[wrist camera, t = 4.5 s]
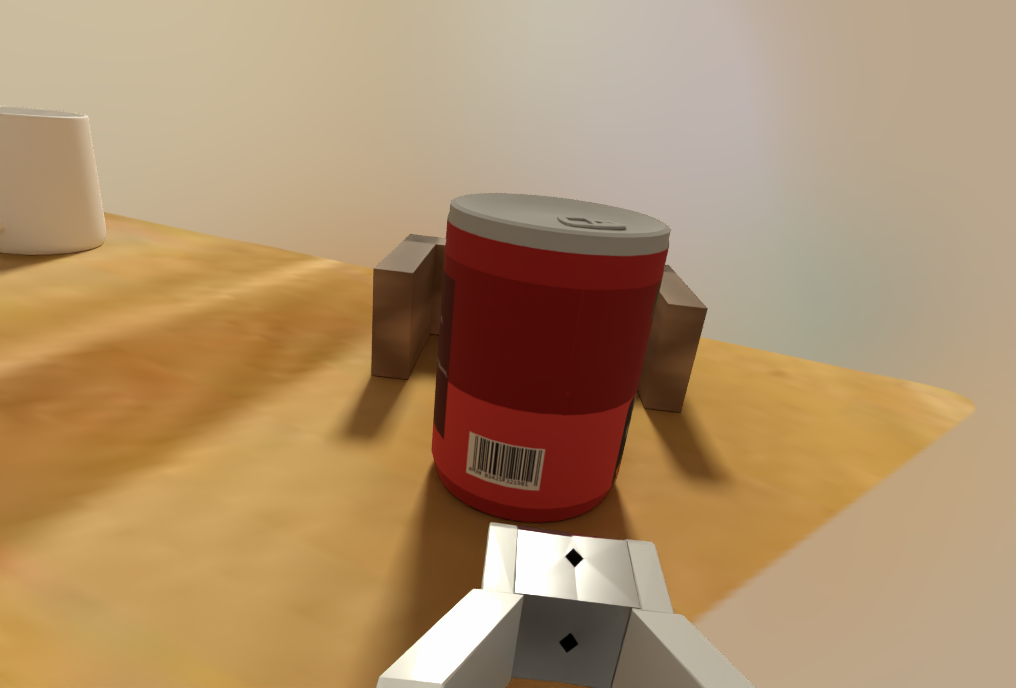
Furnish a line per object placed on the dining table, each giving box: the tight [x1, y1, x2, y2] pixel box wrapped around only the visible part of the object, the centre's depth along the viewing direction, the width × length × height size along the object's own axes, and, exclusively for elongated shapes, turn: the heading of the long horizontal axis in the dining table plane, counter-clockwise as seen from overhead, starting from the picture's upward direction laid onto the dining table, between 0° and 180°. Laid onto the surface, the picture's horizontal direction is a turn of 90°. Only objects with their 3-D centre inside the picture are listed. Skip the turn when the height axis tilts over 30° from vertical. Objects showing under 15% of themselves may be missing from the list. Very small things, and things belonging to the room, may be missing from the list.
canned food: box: [432, 193, 671, 522], centre depth 22 cm, size 8×8×11 cm
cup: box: [0, 106, 106, 255], centre depth 43 cm, size 8×12×10 cm
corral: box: [371, 234, 707, 412], centre depth 34 cm, size 17×9×6 cm, turn 88°
